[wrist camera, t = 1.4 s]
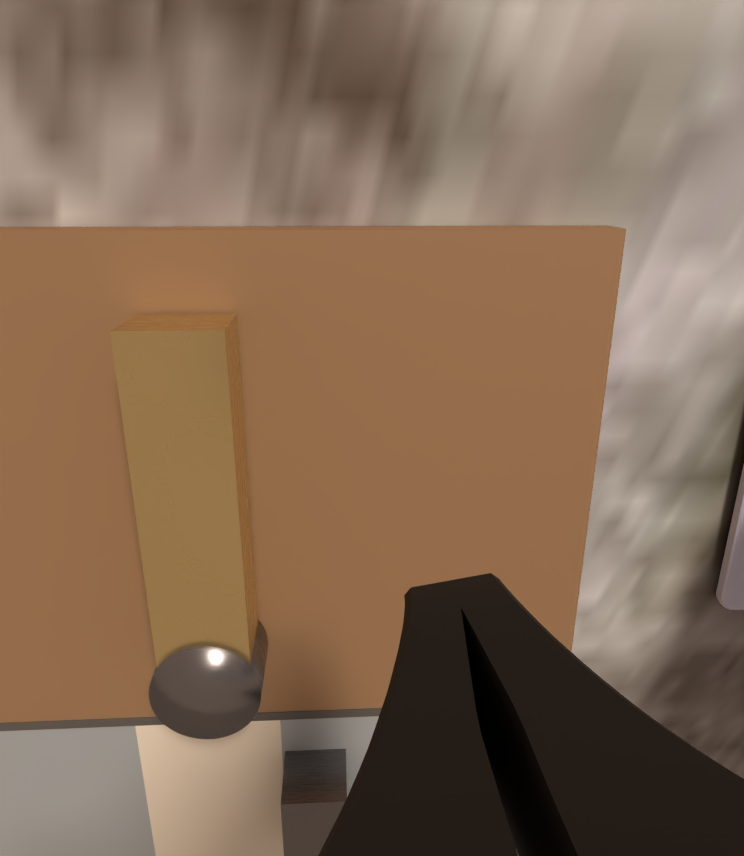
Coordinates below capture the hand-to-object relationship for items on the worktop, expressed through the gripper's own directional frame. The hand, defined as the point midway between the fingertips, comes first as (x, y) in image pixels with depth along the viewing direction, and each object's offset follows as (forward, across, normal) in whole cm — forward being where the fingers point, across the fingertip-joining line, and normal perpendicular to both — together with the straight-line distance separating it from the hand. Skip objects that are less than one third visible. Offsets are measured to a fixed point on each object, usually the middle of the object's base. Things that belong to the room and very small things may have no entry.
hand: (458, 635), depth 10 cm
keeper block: (+9, +5, +12) cm, 16 cm away
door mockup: (+10, +7, +8) cm, 14 cm away
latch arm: (+8, +6, +2) cm, 10 cm away
